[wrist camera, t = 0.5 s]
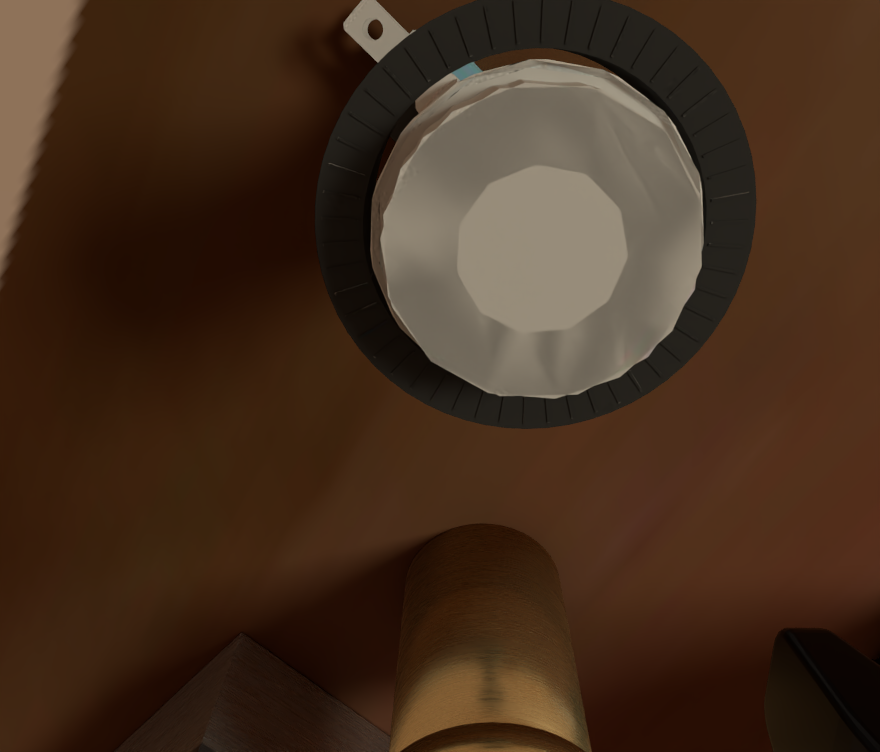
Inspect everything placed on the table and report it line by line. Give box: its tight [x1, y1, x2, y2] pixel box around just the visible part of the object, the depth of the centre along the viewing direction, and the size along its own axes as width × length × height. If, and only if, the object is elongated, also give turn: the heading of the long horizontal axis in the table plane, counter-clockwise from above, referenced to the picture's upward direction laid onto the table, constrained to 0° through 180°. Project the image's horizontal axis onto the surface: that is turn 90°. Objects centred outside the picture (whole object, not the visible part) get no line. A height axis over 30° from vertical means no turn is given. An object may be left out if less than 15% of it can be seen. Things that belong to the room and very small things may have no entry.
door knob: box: [389, 524, 592, 752], centre depth 19 cm, size 5×5×8 cm
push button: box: [315, 0, 756, 429], centre depth 13 cm, size 7×5×10 cm
